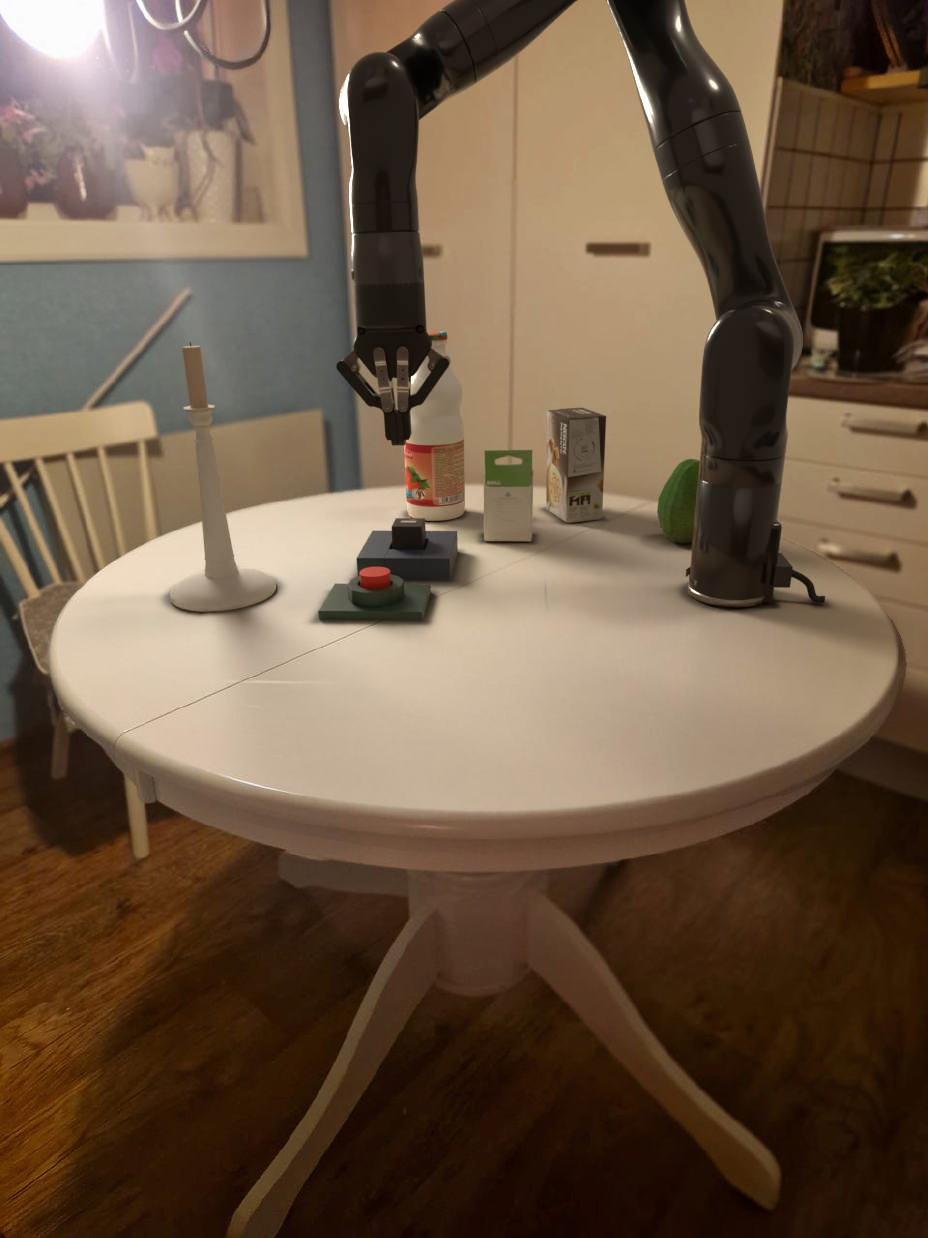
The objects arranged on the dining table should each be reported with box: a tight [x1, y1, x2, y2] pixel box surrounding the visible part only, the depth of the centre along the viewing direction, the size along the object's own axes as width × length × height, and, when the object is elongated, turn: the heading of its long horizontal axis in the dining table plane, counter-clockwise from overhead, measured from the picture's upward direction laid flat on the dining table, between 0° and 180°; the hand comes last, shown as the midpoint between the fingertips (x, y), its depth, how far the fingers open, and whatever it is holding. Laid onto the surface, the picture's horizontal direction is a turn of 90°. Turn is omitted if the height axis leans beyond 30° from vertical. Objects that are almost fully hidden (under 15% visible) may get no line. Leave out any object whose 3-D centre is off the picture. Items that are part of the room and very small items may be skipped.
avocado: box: [656, 458, 700, 545], centre depth 122 cm, size 8×8×12 cm
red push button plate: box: [317, 574, 432, 622], centre depth 102 cm, size 12×9×3 cm
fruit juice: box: [403, 330, 466, 522], centre depth 134 cm, size 9×9×28 cm
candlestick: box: [169, 341, 277, 613], centre depth 102 cm, size 13×13×30 cm
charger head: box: [391, 517, 427, 550], centre depth 115 cm, size 4×4×6 cm
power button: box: [359, 567, 391, 589], centre depth 102 cm, size 4×4×2 cm
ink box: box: [483, 449, 534, 542], centre depth 124 cm, size 7×4×13 cm, turn 84°
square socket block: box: [356, 530, 459, 581], centre depth 116 cm, size 12×12×3 cm
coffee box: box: [545, 407, 607, 524], centre depth 135 cm, size 9×6×16 cm
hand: (398, 443), depth 98 cm, fingers closed
